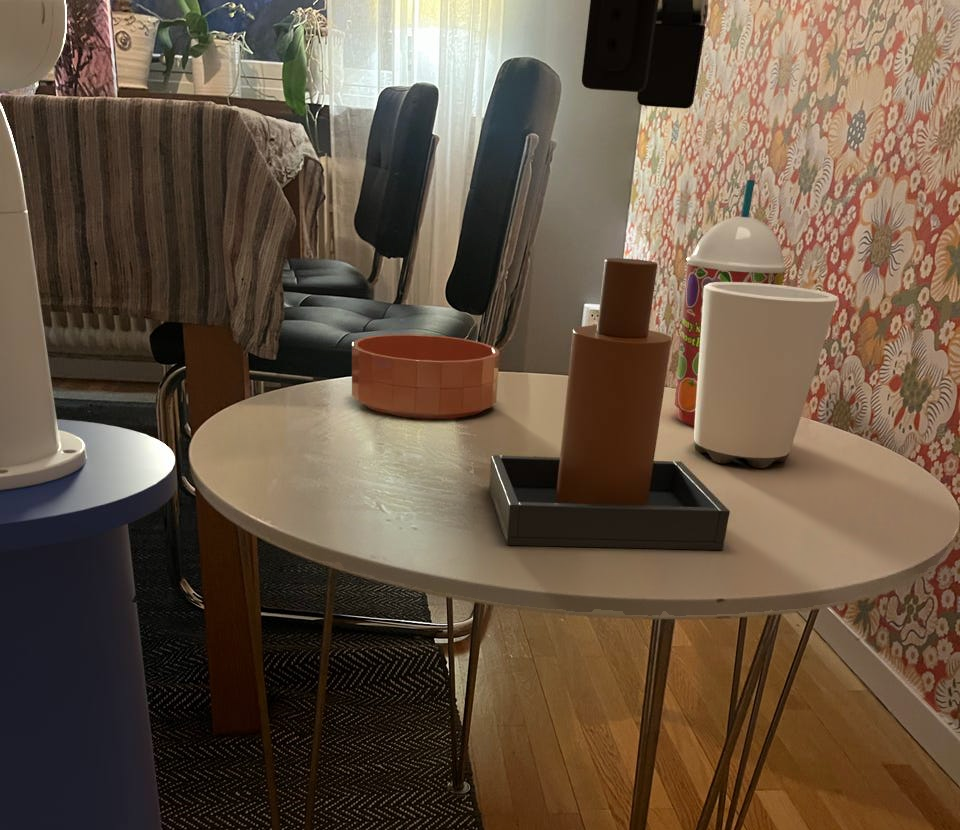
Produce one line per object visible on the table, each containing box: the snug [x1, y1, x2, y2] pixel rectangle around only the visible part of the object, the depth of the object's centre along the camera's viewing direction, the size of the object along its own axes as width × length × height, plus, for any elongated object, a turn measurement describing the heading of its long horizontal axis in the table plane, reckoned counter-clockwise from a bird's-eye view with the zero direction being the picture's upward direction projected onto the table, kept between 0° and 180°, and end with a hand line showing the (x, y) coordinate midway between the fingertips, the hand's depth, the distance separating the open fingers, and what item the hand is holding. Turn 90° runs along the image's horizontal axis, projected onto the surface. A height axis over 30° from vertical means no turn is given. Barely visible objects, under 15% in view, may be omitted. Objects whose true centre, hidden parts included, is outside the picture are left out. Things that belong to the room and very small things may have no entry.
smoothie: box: [674, 179, 788, 427], centre depth 82 cm, size 8×8×20 cm
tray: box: [488, 454, 731, 551], centre depth 60 cm, size 13×10×2 cm
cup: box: [693, 282, 839, 469], centre depth 74 cm, size 10×10×13 cm
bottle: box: [555, 257, 673, 506], centre depth 57 cm, size 6×6×15 cm
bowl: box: [351, 333, 501, 420], centre depth 85 cm, size 13×13×5 cm
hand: (640, 98), depth 50 cm, fingers open, 9 cm apart
